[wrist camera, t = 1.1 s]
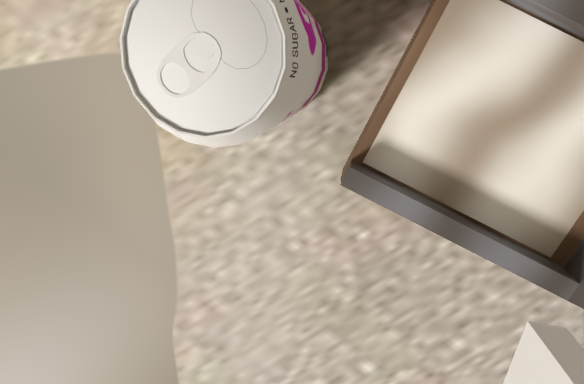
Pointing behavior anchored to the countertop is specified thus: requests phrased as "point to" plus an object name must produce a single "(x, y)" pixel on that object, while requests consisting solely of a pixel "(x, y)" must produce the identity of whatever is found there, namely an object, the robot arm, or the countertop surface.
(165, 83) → the supplement can
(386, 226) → the countertop surface
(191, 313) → the countertop surface
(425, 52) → the wooden tray
